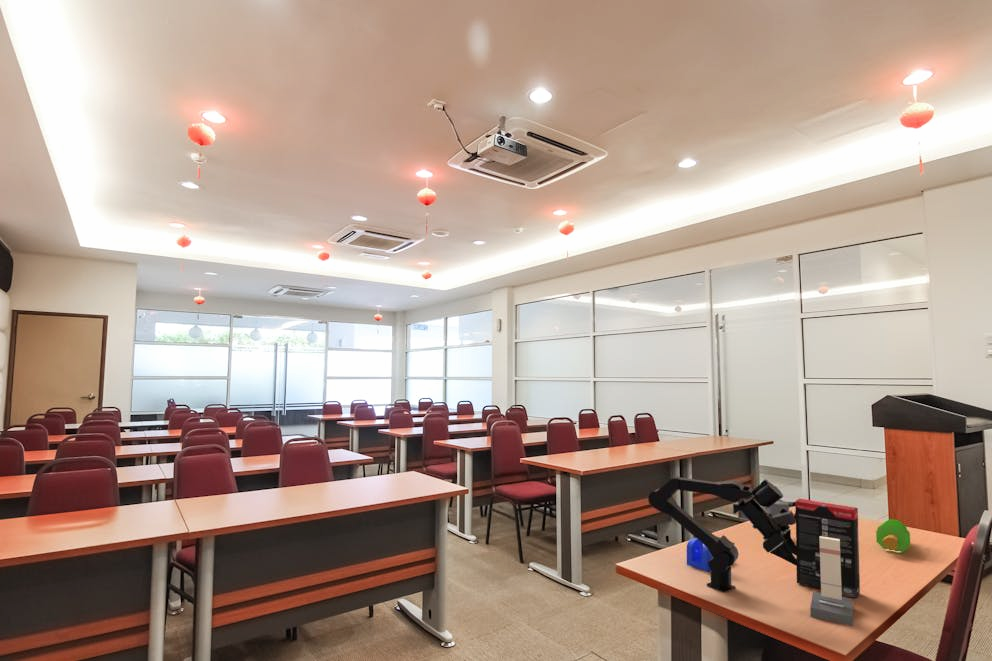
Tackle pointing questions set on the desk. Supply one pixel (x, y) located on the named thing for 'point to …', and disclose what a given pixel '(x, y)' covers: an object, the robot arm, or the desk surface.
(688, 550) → the bracket
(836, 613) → the base
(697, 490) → the robot arm
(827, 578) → the strip
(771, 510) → the coffeepot
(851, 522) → the graphics card box
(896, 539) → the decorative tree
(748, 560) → the desk surface
